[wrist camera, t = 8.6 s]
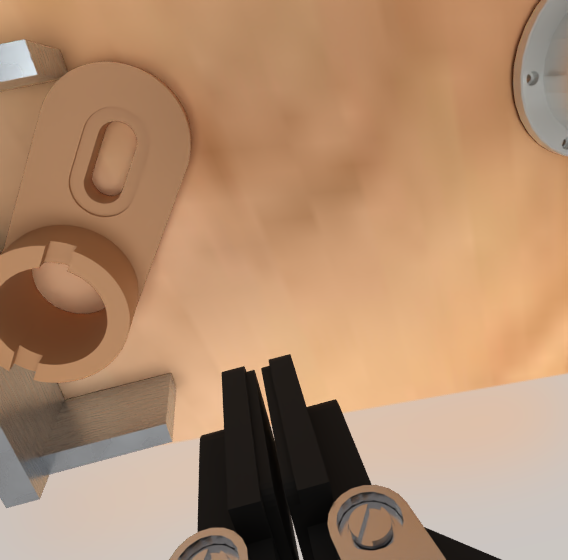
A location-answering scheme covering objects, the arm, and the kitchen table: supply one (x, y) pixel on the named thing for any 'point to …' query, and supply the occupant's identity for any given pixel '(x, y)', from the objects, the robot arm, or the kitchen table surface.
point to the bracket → (89, 218)
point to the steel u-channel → (47, 396)
